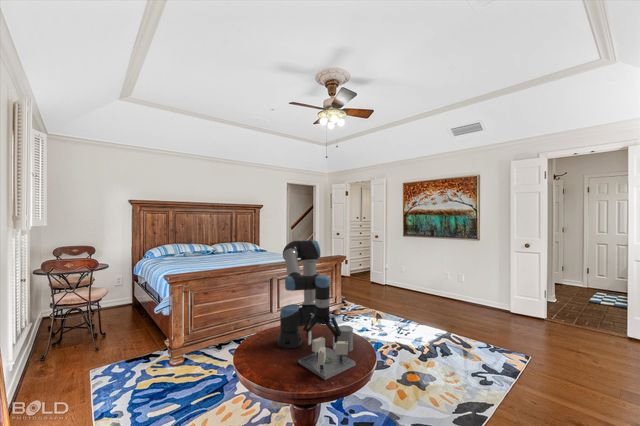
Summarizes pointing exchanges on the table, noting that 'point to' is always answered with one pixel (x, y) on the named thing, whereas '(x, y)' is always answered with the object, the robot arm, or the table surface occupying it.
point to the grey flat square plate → (327, 364)
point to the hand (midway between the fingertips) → (321, 346)
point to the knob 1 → (321, 356)
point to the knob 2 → (341, 349)
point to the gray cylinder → (346, 336)
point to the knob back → (318, 344)
